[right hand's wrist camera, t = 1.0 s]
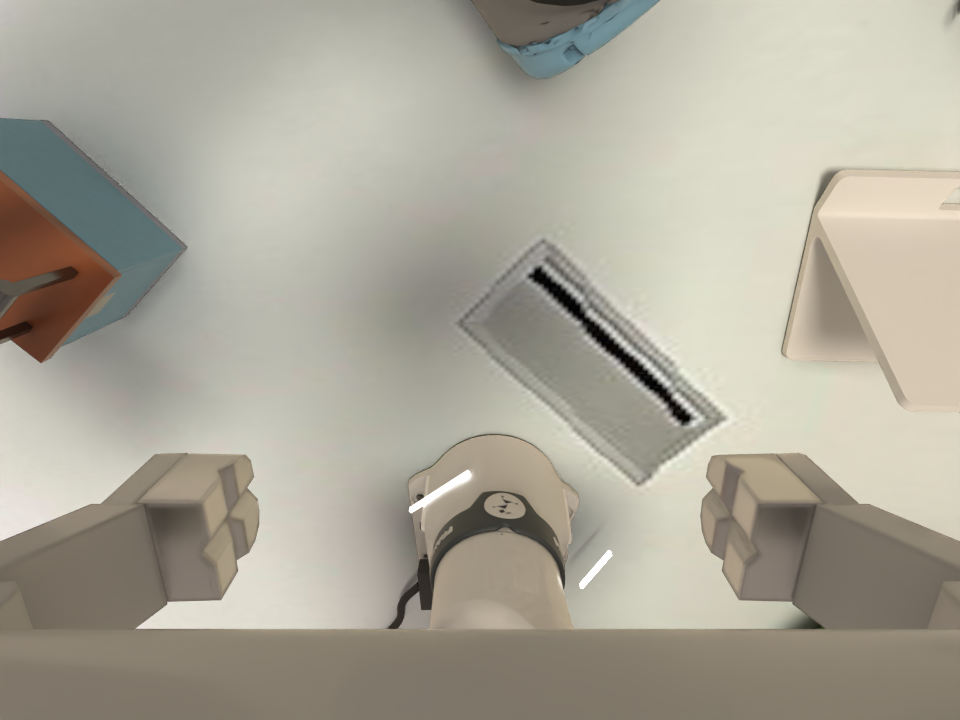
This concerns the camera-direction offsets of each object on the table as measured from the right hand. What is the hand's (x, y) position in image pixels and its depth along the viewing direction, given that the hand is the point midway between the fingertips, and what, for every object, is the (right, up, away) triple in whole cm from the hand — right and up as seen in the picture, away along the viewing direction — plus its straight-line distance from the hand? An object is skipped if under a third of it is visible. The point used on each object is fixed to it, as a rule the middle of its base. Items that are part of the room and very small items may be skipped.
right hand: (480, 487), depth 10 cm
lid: (-36, +11, +32) cm, 49 cm away
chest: (-36, +15, +42) cm, 58 cm away
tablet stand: (+43, +11, +44) cm, 62 cm away
